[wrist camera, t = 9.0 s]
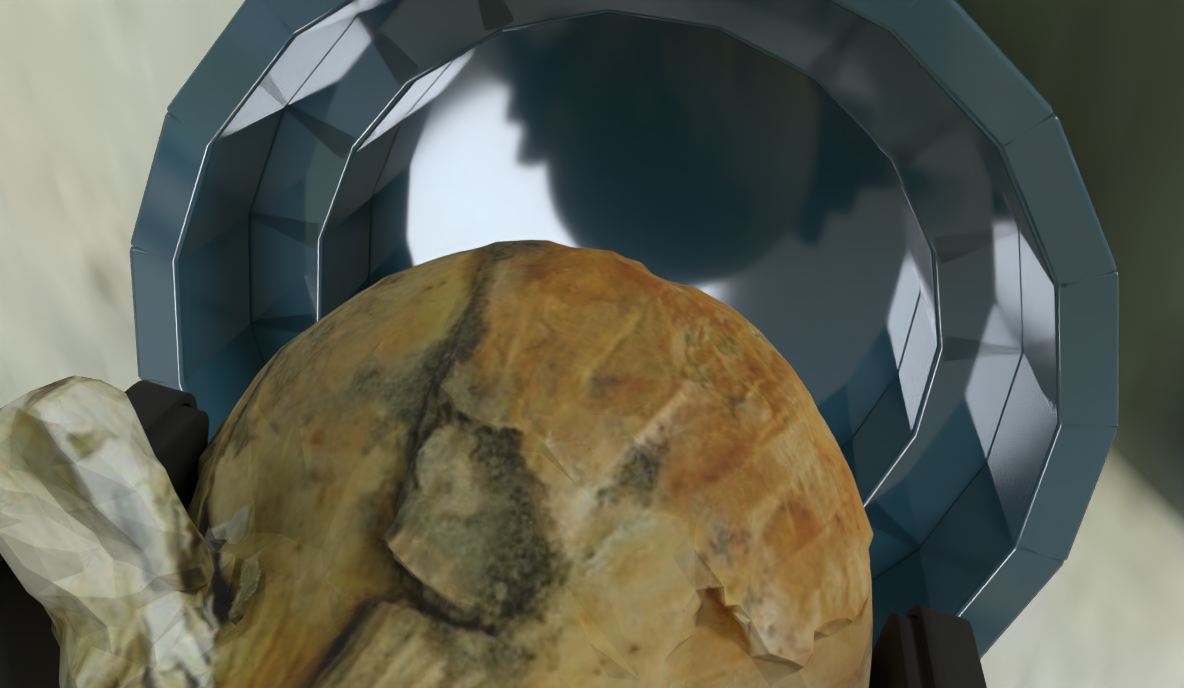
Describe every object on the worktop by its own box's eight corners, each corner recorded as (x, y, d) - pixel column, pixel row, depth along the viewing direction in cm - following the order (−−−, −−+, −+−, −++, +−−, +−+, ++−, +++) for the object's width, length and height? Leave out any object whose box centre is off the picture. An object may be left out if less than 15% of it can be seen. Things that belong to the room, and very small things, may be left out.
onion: (297, 627, 17) (-68, 1218, 9) (295, 120, 13) (-283, 445, 6) (784, 728, 16) (787, 1448, 9) (917, 220, 12) (1106, 724, 5)
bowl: (1208, 288, 19) (1354, 439, 14) (643, 684, 25) (608, 887, 20) (628, -352, 17) (560, -437, 12) (150, 258, 23) (-28, 372, 18)
